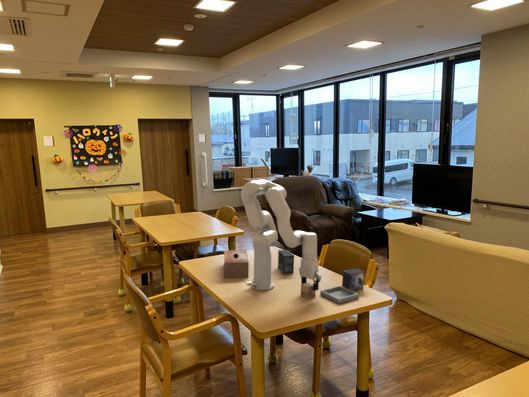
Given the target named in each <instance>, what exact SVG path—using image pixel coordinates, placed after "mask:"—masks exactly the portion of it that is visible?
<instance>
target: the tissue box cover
mask: <svg viewBox="0 0 529 397" xmlns="http://www.w3.org/2000/svg"><path fill="white" fill-rule="evenodd" d="M247 252H248V250H247V249H240V250H239V249H235V250H233V249H232V250H224V256H223V262H224V263H223V270H224V271H223V273H224V274H223V278H224V279H249V267H250V265H249V263H250V262H249V257H248V253H247Z"/></svg>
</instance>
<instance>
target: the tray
mask: <svg viewBox="0 0 529 397" xmlns="http://www.w3.org/2000/svg"><path fill="white" fill-rule="evenodd" d="M319 292H320V294H319V295H321V296H322V297H323V298H326V299H328V300H329V301H332V302H334V303H336V304H337V305H340V304H344V303H348V302H351V301H354V300H357V299H359V293H357V292H355V291H351V290H349V289H346V288H344V287H342V285H337V286H333V287H329V288H324V289H321V290H320V291H319Z"/></svg>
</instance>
